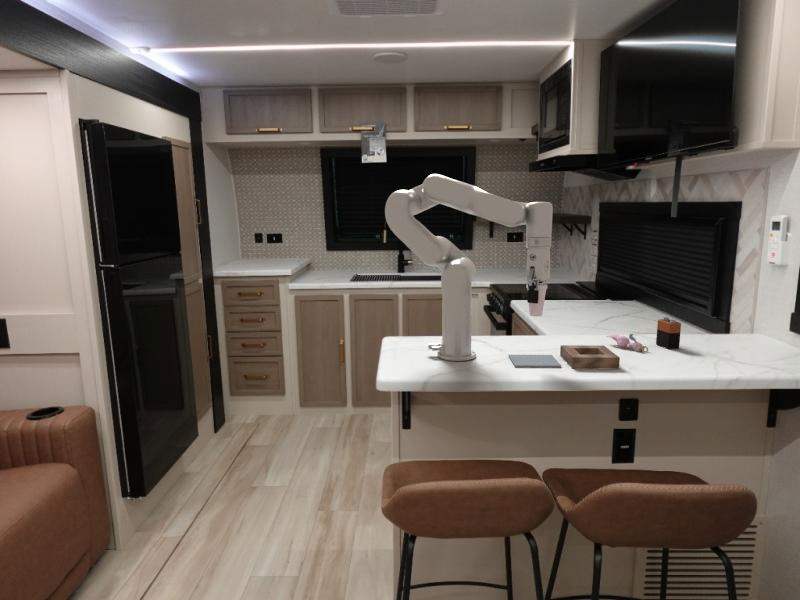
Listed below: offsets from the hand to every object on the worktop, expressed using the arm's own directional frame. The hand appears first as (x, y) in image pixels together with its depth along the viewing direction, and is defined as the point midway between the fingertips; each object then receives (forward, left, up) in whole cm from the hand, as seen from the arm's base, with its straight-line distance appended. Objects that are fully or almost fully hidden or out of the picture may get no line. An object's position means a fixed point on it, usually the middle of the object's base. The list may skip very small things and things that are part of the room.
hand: (536, 300), depth 164 cm
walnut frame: (+17, 0, -20) cm, 26 cm away
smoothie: (0, 0, -5) cm, 5 cm away
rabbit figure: (+35, +17, -20) cm, 44 cm away
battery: (+50, +19, -20) cm, 57 cm away
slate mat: (0, 0, -20) cm, 20 cm away
